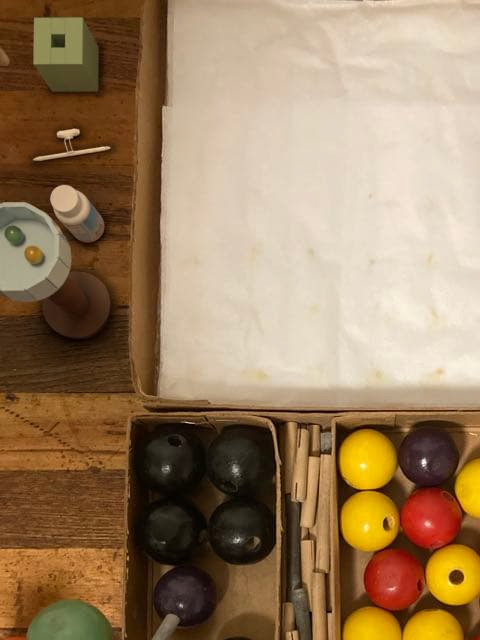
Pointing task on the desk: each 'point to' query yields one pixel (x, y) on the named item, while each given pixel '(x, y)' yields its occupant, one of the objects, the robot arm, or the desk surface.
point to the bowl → (11, 265)
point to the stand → (66, 54)
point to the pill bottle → (77, 213)
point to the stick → (3, 58)
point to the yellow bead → (33, 254)
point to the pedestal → (78, 306)
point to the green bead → (13, 234)
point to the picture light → (69, 135)
